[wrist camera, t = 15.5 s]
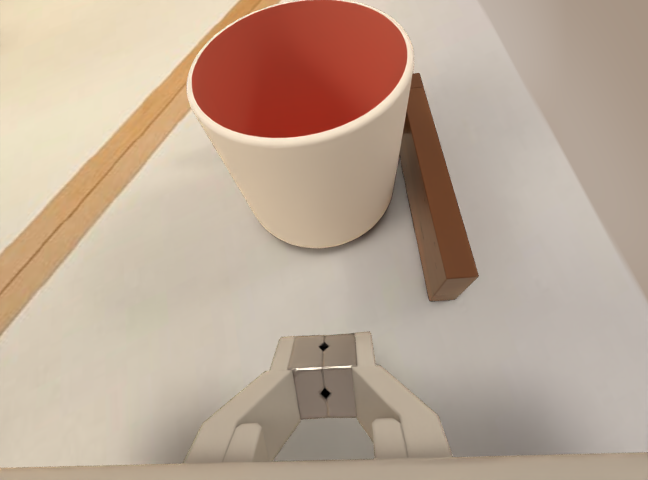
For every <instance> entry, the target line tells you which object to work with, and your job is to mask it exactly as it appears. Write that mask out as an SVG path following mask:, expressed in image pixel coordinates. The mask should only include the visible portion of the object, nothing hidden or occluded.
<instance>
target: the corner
mask: <svg viewBox="0 0 648 480" xmlns="http://www.w3.org/2000/svg"><path fill="white" fill-rule="evenodd" d="M399 155H400V160H401V165H402V170H403V175H404V180H405V185H406V189H407V194H408V199H409V204H410V209H411V214H412V219H413V224H414V229H415V233H416V238H417V243H418V248H419V253H420V258H421V263H422V268H423V273H424V278H425V282H426V287H427V292H428V297H429V301H442V300H455V299H456V298H457V297H458V296H459V295H460V294H461V293H462V292H463V291H464V290H465V289H466V288H467V287H468V286H469V285H470V284H471V283H473V282H474V281H475V280H476V279H477V278H478V276H479V275H478V272H477V268H476V265H475V261H474V258H473V255H472V251H471V248H470V244H469V241H468V238H467V234H466V231H465V227H464V224H463V220H462V217H461V214H460V210H459V207H458V203H457V200H456V197H455V193H454V190H453V186H452V183H451V180H450V176H449V173H448V169H447V166H446V162H445V159H444V156H443V152H442V149H441V145H440V142H439V139H438V135H437V132H436V128H435V125H434V121H433V118H432V115H431V111H430V108H429V104H428V101H427V98H426V94H425V91H424V88H423V83H422V80H421V77H420V73H415V74H412V80H411V86H410V92H409V98H408V105H407V111H406V117H405V123H404V129H403V135H402V141H401V147H400V153H399Z"/></svg>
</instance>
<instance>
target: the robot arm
mask: <svg viewBox="0 0 648 480" xmlns="http://www.w3.org/2000/svg"><path fill="white" fill-rule="evenodd" d="M355 341H356V342H355ZM318 418H357V420H358V421H359V423H360V424H361V426H362V427H363V429H364V430H365V432H366V433H367V434H368V436H369V437H370V439H371V440H372V442H373V444H374V457H375V459H348V460H308V461H273V460H274V458H275V457H276V456H277V454H278V453H279V451H280V450H281V449H282V447H283V446H284V444H285V443H286V442H287V440H288V439H289V437H290V436H291V435H292V433H293V432H294V430H295V429H296V427H297V426H298V425H299V423H300V422H301V420H302V419H318ZM0 480H648V452H643V453H601V454H559V455H518V456H482V457H453V455H452V452H451V449H450V447H449V444H448V441H447V438H446V435H445V433H444V430H443V427H442V424H441V421H440V419H439V416H438V415H437V414H436V413H435V412H434V411H433V410H432V409H430V408H429V407H428V406H427V405H426V404H425V403H423V402H422V401H421V400H420V399H419V398H418V397H417V396H415V395H414V394H413V393H412V392H411V391H410V390H409V389H407V388H406V387H405V386H404V385H403V384H402V383H400V382H399V381H398V380H397V379H396V378H395V377H394V376H392V375H391V374H390V373H389V372H388V371H387V370H385V369H384V368H383V367H382V366H381V365H379V366H376V362H375V355H374V349H373V343H372V337H371V333H370V332H359V333H351V334H338V335H312V336H289V337H281V338H280V339H279V342H278V345H277V348H276V351H275V355H274V358H273V361H272V364H271V367H270V370H269V371H265V372H263V373H262V374H261V375H260V376H259V377H257V378H256V379H255V380H254V381H253V382H251V383H250V384H249V385H248V386H247V387H245V388H244V389H243V390H242V391H241V392H239V393H238V394H237V395H236V396H235V397H233V398H232V399H231V400H230V401H229V402H227V403H226V404H225V405H224V406H223V407H221V408H220V409H219V410H218V411H217V412H215V413H214V414H213V415H212V416H210V417H209V418H208V419H207V420H206V421H204V422H203V423H202V425H201V427H200V429H199V431H198V433H197V435H196V437H195V439H194V441H193V443H192V445H191V447H190V449H189V451H188V453H187V455H186V457H185V459H184V461H183V463H182V464H144V465H102V466H60V467H16V468H0Z"/></svg>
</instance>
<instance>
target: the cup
mask: <svg viewBox="0 0 648 480" xmlns="http://www.w3.org/2000/svg"><path fill="white" fill-rule="evenodd" d="M413 68H414V51H413V47H412V43H411V41H410V39H409V36H408V35H407V33H406V32H405V30H404V29H403V28H402V26H401V25H400V24H399V23H398V22H397V21H395V20H394V19H393V18H392V17H390V16H389V15H387V14H386V13H384V12H382V11H380V10H378V9H376V8H374V7H371V6H369V5H366V4H362V3H359V2H354V1H349V0H294V1H289V2H284V3H280V4H276V5H272V6H269V7H266V8H263V9H260V10H257V11H255V12H253V13H250V14H248V15H246V16H244V17H242V18H240V19H238V20H236V21H234V22H233V23H231V24H230V25H228V26H226V27H225V28H224V29H222V30H221V31H220V32H218V33H217V34H216V35H215V36H214V37H212V38H211V39H210V40H209V41H208V42H207V43H206V44H205V45H204V47H203V48H202V49H201V50H200V52H199V53H198V55H197V56H196V58H195V59H194V61H193V63H192V65H191V68H190V71H189V74H188V79H187V96H188V100H189V104H190V106H191V108H192V110H193V112H194V114H195V115H196V117H197V119H198V121H199V122H200V124H201V126H202V127H203V129H204V131H205V132H206V134H207V136H208V137H209V139H210V141H211V142H212V144H213V146H214V147H215V149H216V151H217V152H218V154H219V156H220V157H221V159H222V161H223V162H224V164H225V166H226V167H227V169H228V171H229V172H230V174H231V176H232V178H233V179H234V181H235V183H236V184H237V186H238V188H239V189H240V191H241V193H242V194H243V196H244V198H245V199H246V201H247V203H248V205H249V206H250V208H251V210H252V211H253V213H254V215H255V216H256V218H257V219H258V221H259V222H260V223H261V225H262V226H263V227H264V228H265V229H266V230H267V231H268V232H270V233H271V234H272V235H274V236H275V237H277V238H278V239H280V240H282V241H284V242H287V243H289V244H292V245H295V246H299V247H305V248H327V247H334V246H338V245H342V244H344V243H347V242H350V241H352V240H354V239H356V238H358V237H360V236H361V235H363V234H364V233H366V232H367V231H368V230H370V229H371V228H372V227H373V226H374V225H375V224H376V223H377V222H378V221H379V219H380V218H381V217H382V216H383V214H384V213H385V211H386V209H387V207H388V205H389V203H390V200H391V197H392V194H393V189H394V183H395V177H396V171H397V165H398V159H399V153H400V147H401V141H402V135H403V129H404V123H405V117H406V111H407V105H408V98H409V92H410V86H411V80H412V74H413Z"/></svg>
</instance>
